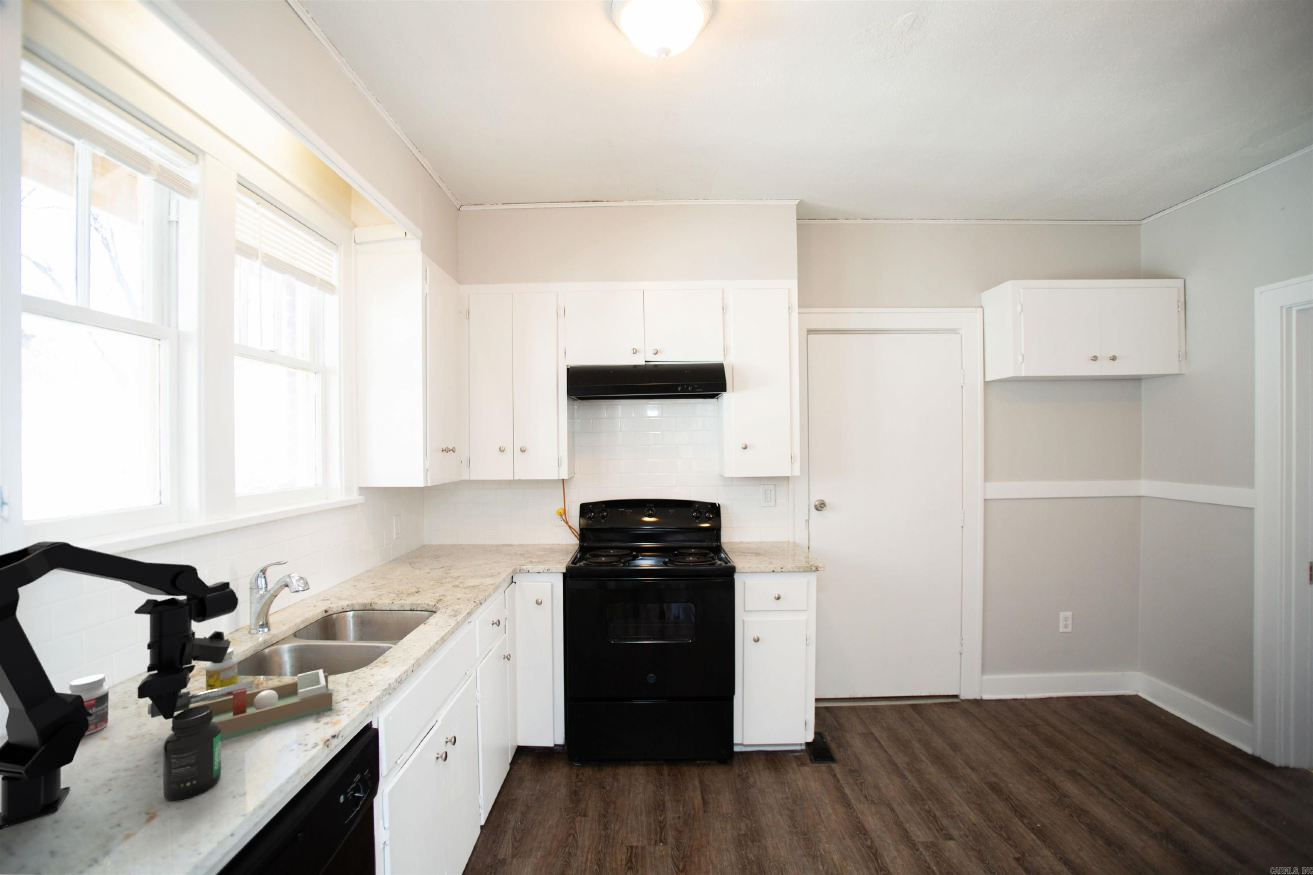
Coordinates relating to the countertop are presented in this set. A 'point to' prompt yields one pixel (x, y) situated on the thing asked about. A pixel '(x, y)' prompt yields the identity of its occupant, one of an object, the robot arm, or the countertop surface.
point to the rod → (186, 699)
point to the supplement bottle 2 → (222, 673)
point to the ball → (265, 699)
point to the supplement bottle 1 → (191, 754)
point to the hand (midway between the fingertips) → (171, 714)
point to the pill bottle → (93, 699)
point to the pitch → (267, 709)
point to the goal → (311, 683)
